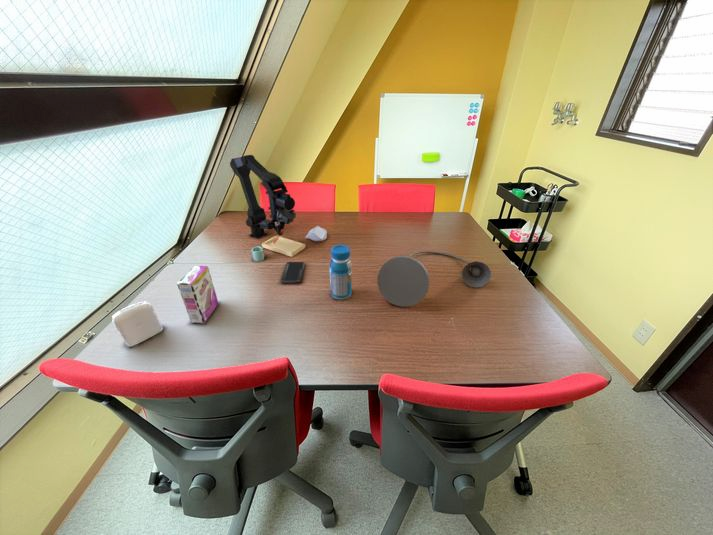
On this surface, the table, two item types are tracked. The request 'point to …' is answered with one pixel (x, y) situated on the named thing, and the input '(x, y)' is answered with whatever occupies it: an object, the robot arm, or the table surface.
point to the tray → (284, 246)
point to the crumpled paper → (317, 234)
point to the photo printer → (137, 323)
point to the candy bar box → (198, 294)
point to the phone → (293, 272)
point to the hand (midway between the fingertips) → (280, 235)
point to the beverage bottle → (340, 272)
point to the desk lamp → (420, 278)
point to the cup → (258, 253)
